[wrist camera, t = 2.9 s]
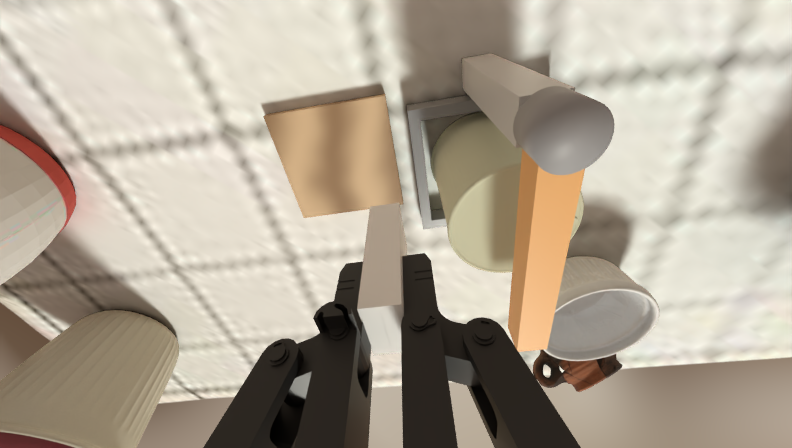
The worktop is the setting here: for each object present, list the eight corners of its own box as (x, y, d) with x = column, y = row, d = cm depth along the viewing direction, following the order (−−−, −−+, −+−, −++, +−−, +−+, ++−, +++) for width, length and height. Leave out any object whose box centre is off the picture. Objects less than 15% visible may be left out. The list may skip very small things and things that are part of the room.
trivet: (385, 93, 27) (384, 95, 26) (402, 200, 33) (403, 204, 32) (266, 114, 28) (263, 116, 27) (305, 213, 34) (303, 217, 33)
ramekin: (518, 256, 38) (540, 300, 32) (631, 237, 36) (676, 279, 30) (518, 322, 45) (536, 367, 39) (612, 309, 43) (645, 354, 38)
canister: (155, 283, 40) (-28, 488, 23) (223, 359, 50) (132, 542, 33) (36, 299, 42) (-217, 501, 25) (125, 370, 52) (-10, 548, 35)
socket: (554, 42, 25) (698, 67, 13) (535, 203, 33) (611, 306, 22) (401, 69, 26) (407, 115, 14) (421, 219, 34) (435, 324, 23)
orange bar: (587, 80, 13) (623, 92, 11) (542, 323, 22) (558, 355, 20) (515, 92, 13) (537, 106, 11) (501, 327, 22) (511, 359, 20)
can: (517, 196, 33) (570, 274, 23) (431, 202, 33) (447, 282, 23) (531, 107, 28) (608, 159, 18) (430, 116, 28) (449, 171, 18)
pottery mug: (587, 306, 44) (637, 362, 39) (578, 317, 52) (618, 364, 47) (516, 350, 45) (556, 409, 40) (517, 355, 53) (551, 404, 48)
